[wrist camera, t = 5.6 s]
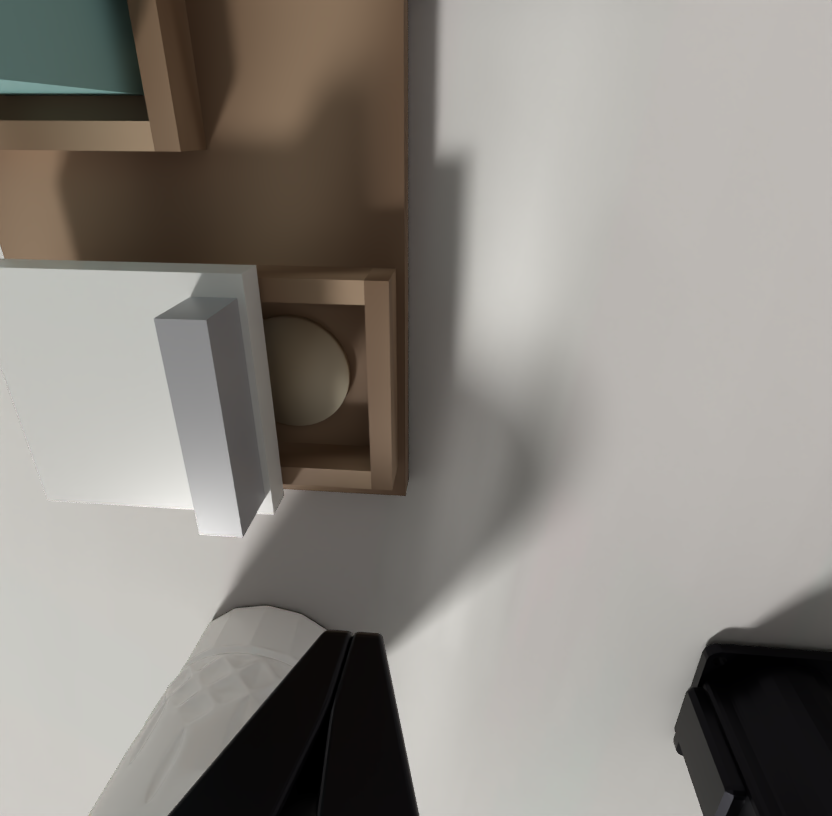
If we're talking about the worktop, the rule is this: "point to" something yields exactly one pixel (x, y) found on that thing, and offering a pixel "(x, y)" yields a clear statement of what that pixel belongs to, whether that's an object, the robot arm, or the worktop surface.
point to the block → (68, 48)
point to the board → (252, 200)
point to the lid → (143, 385)
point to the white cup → (206, 707)
